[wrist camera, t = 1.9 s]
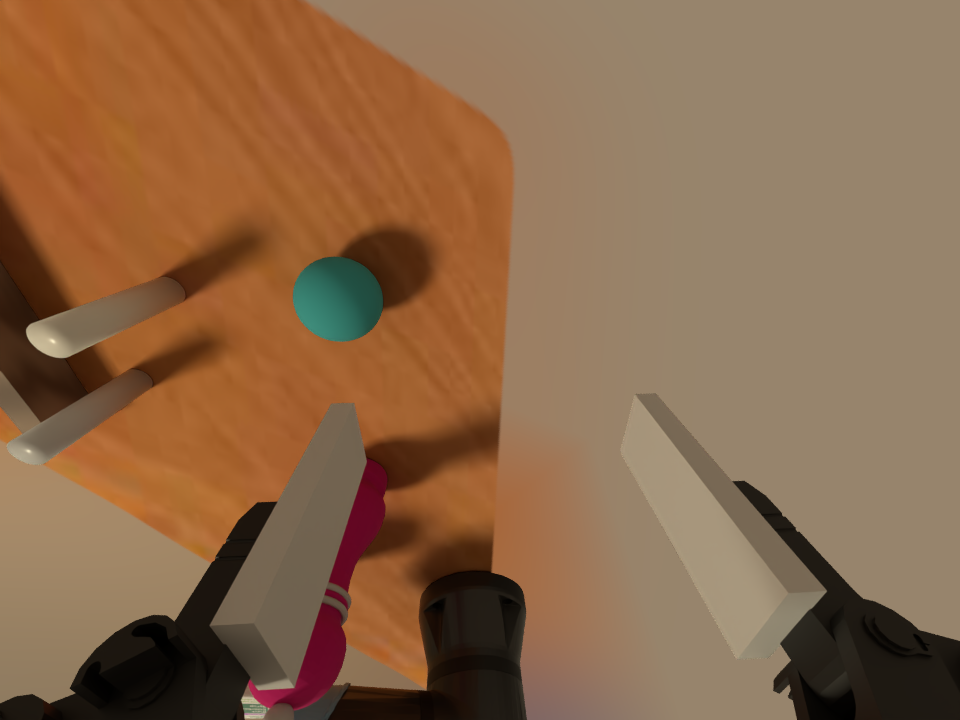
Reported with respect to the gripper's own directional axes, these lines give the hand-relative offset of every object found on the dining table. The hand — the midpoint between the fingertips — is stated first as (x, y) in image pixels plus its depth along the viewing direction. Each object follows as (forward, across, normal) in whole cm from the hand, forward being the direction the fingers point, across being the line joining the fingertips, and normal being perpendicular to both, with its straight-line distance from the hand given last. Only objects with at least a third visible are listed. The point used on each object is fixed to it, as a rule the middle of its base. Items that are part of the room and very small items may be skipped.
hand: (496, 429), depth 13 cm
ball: (+15, +10, 0) cm, 18 cm away
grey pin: (+18, +30, +8) cm, 36 cm away
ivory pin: (+18, +24, 0) cm, 30 cm away
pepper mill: (+18, +13, +21) cm, 30 cm away
